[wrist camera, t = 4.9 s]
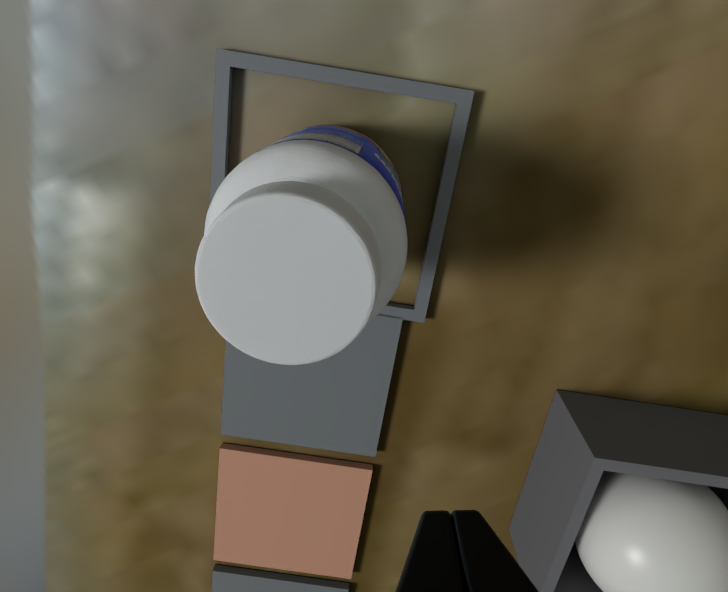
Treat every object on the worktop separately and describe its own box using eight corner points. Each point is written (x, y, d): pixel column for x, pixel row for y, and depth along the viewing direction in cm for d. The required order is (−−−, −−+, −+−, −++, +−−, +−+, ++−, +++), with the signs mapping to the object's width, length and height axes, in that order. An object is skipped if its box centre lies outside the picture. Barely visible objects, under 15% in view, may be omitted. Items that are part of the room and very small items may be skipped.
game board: (472, 90, 19) (474, 91, 18) (347, 671, 31) (346, 678, 30) (219, 49, 18) (216, 48, 18) (194, 651, 30) (192, 658, 30)
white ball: (710, 441, 23) (813, 555, 18) (660, 541, 25) (738, 670, 20) (577, 421, 23) (639, 530, 17) (539, 523, 25) (583, 648, 20)
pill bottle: (401, 261, 21) (415, 396, 12) (268, 264, 21) (184, 398, 12) (400, 119, 19) (417, 154, 10) (253, 124, 19) (139, 161, 10)
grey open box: (737, 416, 23) (814, 490, 19) (668, 551, 26) (722, 639, 22) (556, 389, 23) (594, 457, 19) (508, 528, 26) (532, 613, 22)
